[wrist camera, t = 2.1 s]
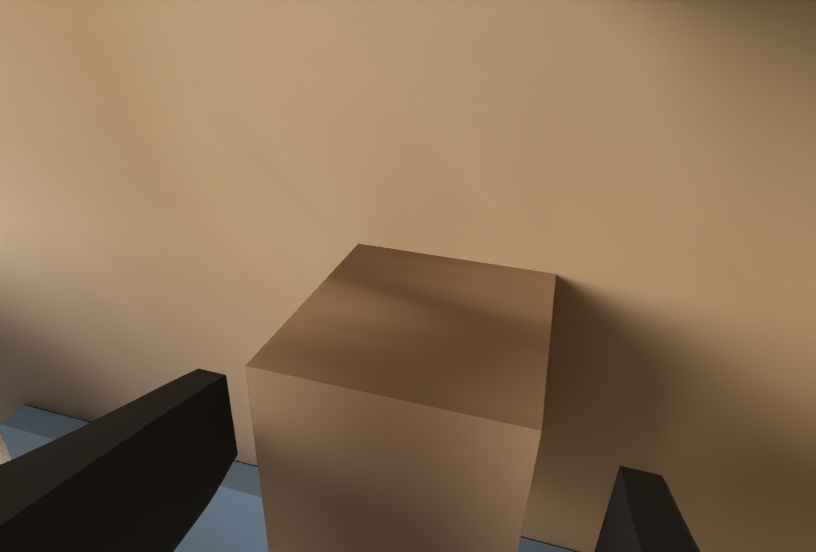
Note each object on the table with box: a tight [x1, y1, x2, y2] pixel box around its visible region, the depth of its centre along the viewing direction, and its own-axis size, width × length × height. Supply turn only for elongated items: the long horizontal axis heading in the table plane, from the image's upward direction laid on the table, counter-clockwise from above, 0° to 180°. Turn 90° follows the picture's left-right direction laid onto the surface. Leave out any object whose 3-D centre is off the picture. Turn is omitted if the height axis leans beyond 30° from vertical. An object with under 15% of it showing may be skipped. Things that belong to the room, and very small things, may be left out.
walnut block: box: [245, 244, 556, 552], centre depth 11 cm, size 4×4×5 cm
